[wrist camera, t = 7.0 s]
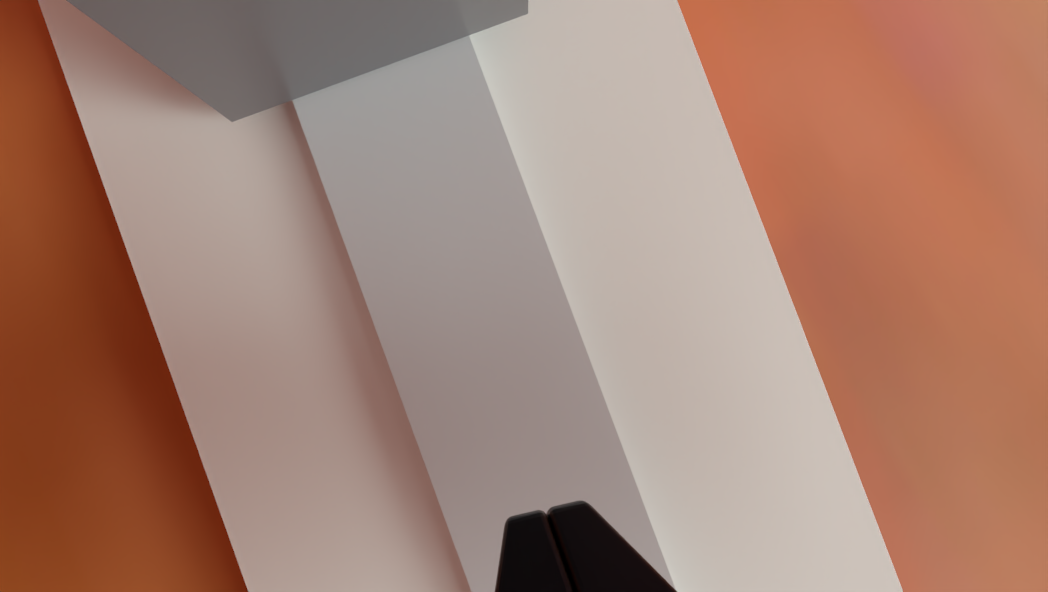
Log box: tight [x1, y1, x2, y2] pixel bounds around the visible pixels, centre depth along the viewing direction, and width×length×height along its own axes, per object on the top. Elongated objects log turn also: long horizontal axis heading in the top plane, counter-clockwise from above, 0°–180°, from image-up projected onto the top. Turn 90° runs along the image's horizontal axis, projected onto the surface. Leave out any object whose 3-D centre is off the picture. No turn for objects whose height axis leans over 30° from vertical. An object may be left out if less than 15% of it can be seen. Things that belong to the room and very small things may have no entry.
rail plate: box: [38, 0, 903, 592], centre depth 19 cm, size 20×12×3 cm, turn 20°
